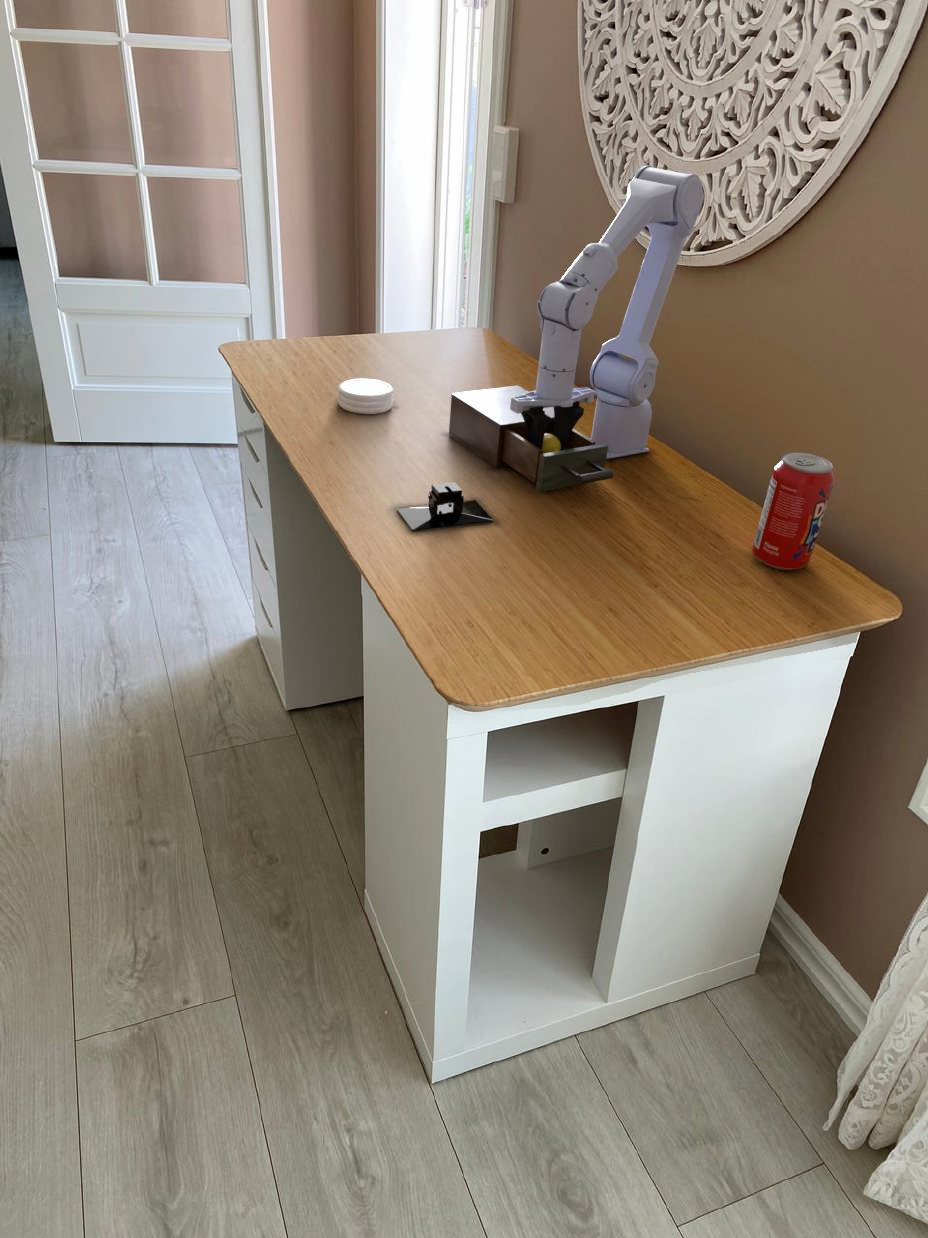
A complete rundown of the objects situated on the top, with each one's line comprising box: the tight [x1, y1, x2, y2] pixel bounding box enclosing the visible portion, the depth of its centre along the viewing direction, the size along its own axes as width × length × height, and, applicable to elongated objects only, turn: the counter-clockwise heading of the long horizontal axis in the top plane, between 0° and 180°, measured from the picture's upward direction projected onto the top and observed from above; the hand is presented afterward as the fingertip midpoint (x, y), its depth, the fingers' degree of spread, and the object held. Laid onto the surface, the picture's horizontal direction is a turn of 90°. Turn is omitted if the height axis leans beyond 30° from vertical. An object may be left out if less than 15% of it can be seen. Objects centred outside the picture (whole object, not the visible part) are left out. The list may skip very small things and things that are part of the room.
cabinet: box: [448, 384, 554, 469], centre depth 159 cm, size 15×13×7 cm
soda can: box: [752, 451, 835, 571], centre depth 128 cm, size 8×8×15 cm
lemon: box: [542, 433, 561, 454], centre depth 150 cm, size 6×4×4 cm
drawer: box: [500, 421, 615, 492], centre depth 148 cm, size 20×12×6 cm, turn 31°
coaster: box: [337, 378, 394, 415], centre depth 171 cm, size 10×10×4 cm
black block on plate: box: [396, 481, 494, 532], centre depth 135 cm, size 12×7×5 cm, turn 112°
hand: (546, 449), depth 150 cm, fingers closed on lemon, 4 cm apart
